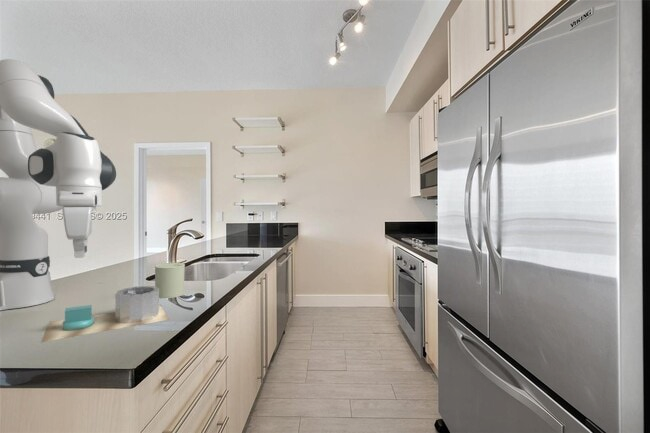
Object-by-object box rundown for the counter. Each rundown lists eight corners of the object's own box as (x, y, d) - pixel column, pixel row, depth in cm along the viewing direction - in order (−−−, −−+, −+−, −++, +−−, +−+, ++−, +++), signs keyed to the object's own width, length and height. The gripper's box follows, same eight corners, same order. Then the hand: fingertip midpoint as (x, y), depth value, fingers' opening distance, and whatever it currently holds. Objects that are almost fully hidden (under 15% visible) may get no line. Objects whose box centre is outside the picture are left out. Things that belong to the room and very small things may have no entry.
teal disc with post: (61, 332, 71) (61, 313, 71) (64, 324, 76) (64, 306, 76) (93, 327, 75) (93, 309, 75) (94, 319, 80) (94, 302, 80)
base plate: (41, 348, 66) (41, 342, 66) (50, 327, 78) (50, 322, 78) (168, 325, 81) (169, 319, 81) (160, 310, 92) (160, 305, 92)
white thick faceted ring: (106, 322, 78) (106, 295, 78) (133, 309, 88) (133, 285, 88) (143, 323, 78) (143, 296, 78) (166, 311, 88) (166, 286, 87)
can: (182, 301, 101) (182, 265, 101) (151, 303, 99) (151, 266, 98) (186, 294, 110) (186, 261, 110) (158, 295, 107) (158, 261, 107)
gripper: (68, 200, 82) (69, 251, 82) (57, 197, 65) (58, 262, 66) (97, 200, 86) (98, 249, 86) (94, 198, 69) (95, 259, 69)
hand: (81, 255), depth 76 cm, fingers open, 8 cm apart
